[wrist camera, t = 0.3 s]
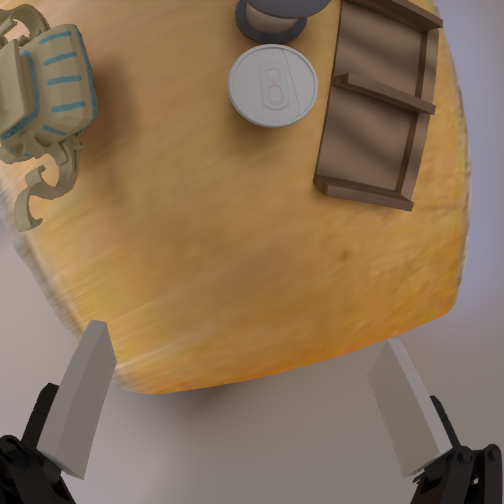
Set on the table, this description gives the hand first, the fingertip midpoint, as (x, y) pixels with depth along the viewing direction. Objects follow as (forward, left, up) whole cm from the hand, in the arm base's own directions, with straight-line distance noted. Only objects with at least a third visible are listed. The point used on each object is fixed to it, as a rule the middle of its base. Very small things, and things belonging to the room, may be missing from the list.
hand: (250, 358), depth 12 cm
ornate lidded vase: (-12, -21, -27) cm, 37 cm away
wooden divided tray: (-16, +16, -27) cm, 35 cm away
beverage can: (-12, +1, -27) cm, 30 cm away
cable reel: (-23, +1, -27) cm, 36 cm away
